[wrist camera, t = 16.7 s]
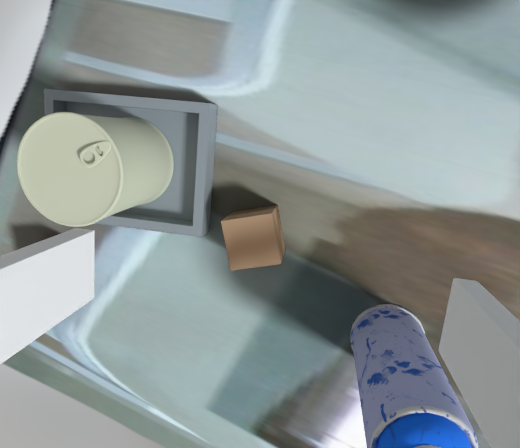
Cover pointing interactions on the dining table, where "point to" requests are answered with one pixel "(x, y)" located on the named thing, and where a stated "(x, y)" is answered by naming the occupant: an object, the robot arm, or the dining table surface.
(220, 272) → the dining table surface
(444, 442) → the aerosol can
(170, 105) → the tray
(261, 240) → the walnut block
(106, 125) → the can
